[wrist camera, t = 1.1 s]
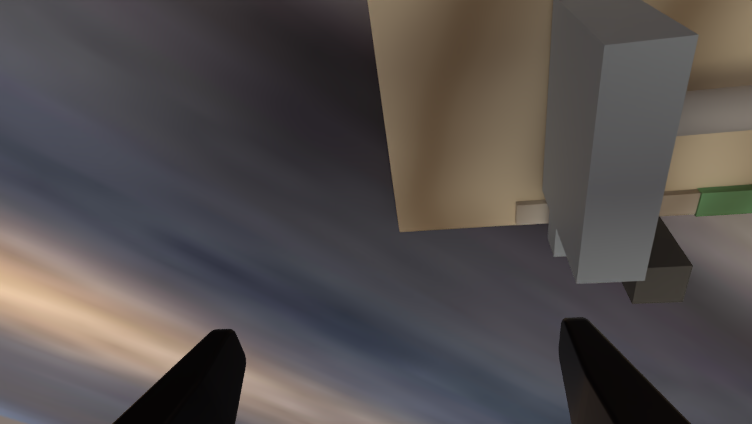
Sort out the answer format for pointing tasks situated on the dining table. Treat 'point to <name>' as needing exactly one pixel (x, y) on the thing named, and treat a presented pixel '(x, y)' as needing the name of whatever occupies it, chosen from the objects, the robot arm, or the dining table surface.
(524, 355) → the dining table surface
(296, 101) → the dining table surface
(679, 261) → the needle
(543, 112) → the gauge board
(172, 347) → the dining table surface
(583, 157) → the grey rectangular block
